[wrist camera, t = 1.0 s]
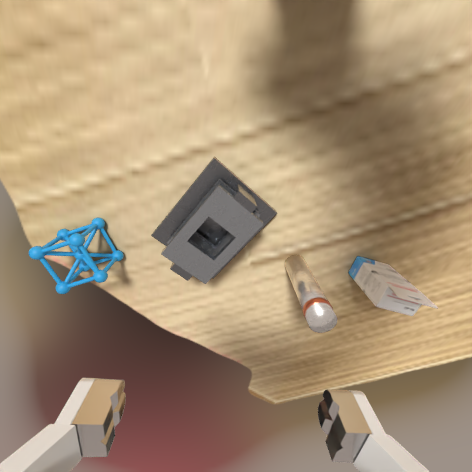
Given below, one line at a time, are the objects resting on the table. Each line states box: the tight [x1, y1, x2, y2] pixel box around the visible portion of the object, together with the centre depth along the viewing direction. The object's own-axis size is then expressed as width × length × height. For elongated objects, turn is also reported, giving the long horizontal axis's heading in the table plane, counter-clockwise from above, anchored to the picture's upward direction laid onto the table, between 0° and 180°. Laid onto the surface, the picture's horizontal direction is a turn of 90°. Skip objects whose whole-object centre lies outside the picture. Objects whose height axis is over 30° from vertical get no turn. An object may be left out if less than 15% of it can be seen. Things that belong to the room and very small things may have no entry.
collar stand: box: [151, 157, 277, 284], centre depth 47 cm, size 20×16×8 cm
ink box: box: [348, 256, 438, 316], centre depth 50 cm, size 9×5×15 cm, turn 72°
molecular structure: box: [29, 218, 124, 294], centre depth 48 cm, size 10×10×10 cm
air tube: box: [285, 255, 337, 333], centre depth 47 cm, size 5×5×18 cm
